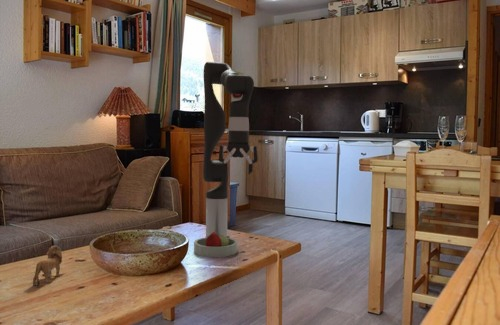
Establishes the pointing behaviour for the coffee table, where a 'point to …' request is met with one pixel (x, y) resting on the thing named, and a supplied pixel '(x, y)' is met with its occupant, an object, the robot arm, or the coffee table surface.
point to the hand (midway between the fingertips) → (238, 173)
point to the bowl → (215, 248)
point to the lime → (224, 241)
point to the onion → (213, 240)
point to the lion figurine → (49, 265)
